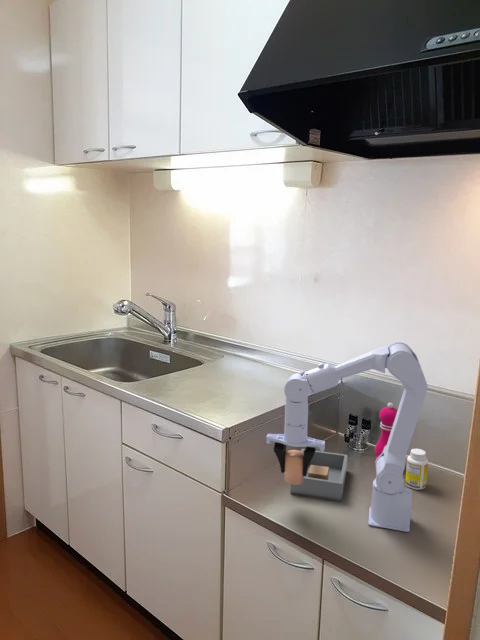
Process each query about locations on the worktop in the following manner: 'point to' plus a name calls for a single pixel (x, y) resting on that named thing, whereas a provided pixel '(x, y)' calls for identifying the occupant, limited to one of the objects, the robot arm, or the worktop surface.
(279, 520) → the worktop surface
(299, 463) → the terracotta cylinder
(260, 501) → the worktop surface
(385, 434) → the pepper mill
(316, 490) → the gray tote
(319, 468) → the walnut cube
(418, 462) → the supplement bottle
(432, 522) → the worktop surface
